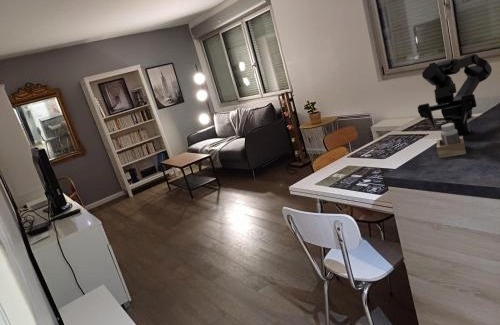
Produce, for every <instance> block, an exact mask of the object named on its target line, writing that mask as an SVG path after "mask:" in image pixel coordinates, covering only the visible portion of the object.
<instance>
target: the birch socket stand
mask: <svg viewBox="0 0 500 325" xmlns="http://www.w3.org/2000/svg"><path fill="white" fill-rule="evenodd" d="M459 140H460V143H456V144H450V145H444V146H443V142H442V139H437V140H436V150H437V155H438V158H439V159H441V158H447V157H454V156H459V155H460V156H461V155H466V154H467V151H466V146H465V142H464V136H463V135H459Z"/></svg>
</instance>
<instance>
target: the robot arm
mask: <svg viewBox="0 0 500 325" xmlns="http://www.w3.org/2000/svg"><path fill="white" fill-rule="evenodd" d="M461 69H464V70H463V73H464V74H465V75H466V79H465V81H464V83H462V85H461V87H460V88H459V89H458V91H457V87H456V83H454V81H453V79H452V77H451V75H452V76H453V75H457V74H458V73H460V72H461ZM492 72H493V71H492V66H491V65H490V63H489V62H488V60H486V59H484V58H481V57H480V56H479V55H478V54H476V53H472V54H469V55H468V54H467V55H464V56H463V57H460V58H451V59H447V60H444V61H439V62H430V63H429V65H428V66H427V67H425V68H424V70H423V72H422V74H421V77H422V78H423V79H424V80H425V81H427V82H428V83H429V84H430V85H432V86H435V89H434V90H433V91H434V97H435V98H434V99H435V103H436V104H434V105H430V103H429V102H427V103H423V104H419V105H418V106H417V112H418V114H419V116H420V118H424V119H425V120H426V119H427V120H429V122H430V123H431V125H432V127H433V129H434V130H435V129H436V122H435V119H434V114H433V112H435V111H439V110H440V111H441V115H442V117H443V119H444V121H445V122H449V121H450V123H454V126H455V128H454V129H456V130H457V131H458V135H459V136H463V135H468V134H469V135H470V134H471V133H472V131H471V127H469V122H468V119H472V117H473V109H474V108H476V107H477V101H476V96H475V94H474V92H475V90H476V89H477V87H478V86H479V84H480V83H482V82H483V81H486V79H488V78H489V77H490V76H491V74H492ZM454 94H455V95H454Z"/></svg>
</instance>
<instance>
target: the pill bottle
mask: <svg viewBox="0 0 500 325" xmlns="http://www.w3.org/2000/svg"><path fill="white" fill-rule="evenodd" d="M454 128H455V126H454V123H451V122H448V123H445V124H442V125H441V130H442V131H441V132H440V136H441V140H442V142H443V146H444V145H450V144H456V143H460V140H459V136H460V135H458V131H457V130H456V129H454Z"/></svg>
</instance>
